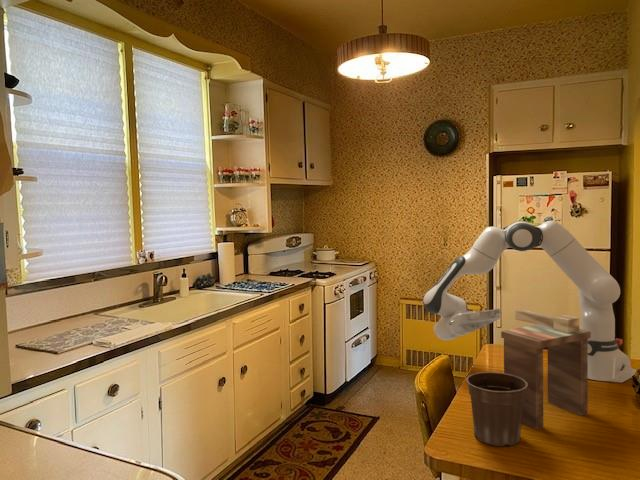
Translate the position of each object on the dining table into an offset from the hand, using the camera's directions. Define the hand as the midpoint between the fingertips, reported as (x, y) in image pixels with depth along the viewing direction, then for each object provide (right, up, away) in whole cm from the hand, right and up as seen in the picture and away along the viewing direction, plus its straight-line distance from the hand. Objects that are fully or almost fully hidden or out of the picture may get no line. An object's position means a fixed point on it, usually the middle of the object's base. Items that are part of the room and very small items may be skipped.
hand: (490, 311), depth 178 cm
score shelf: (+8, -28, -27) cm, 39 cm away
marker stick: (+10, -1, -21) cm, 23 cm away
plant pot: (-12, -29, -41) cm, 52 cm away
